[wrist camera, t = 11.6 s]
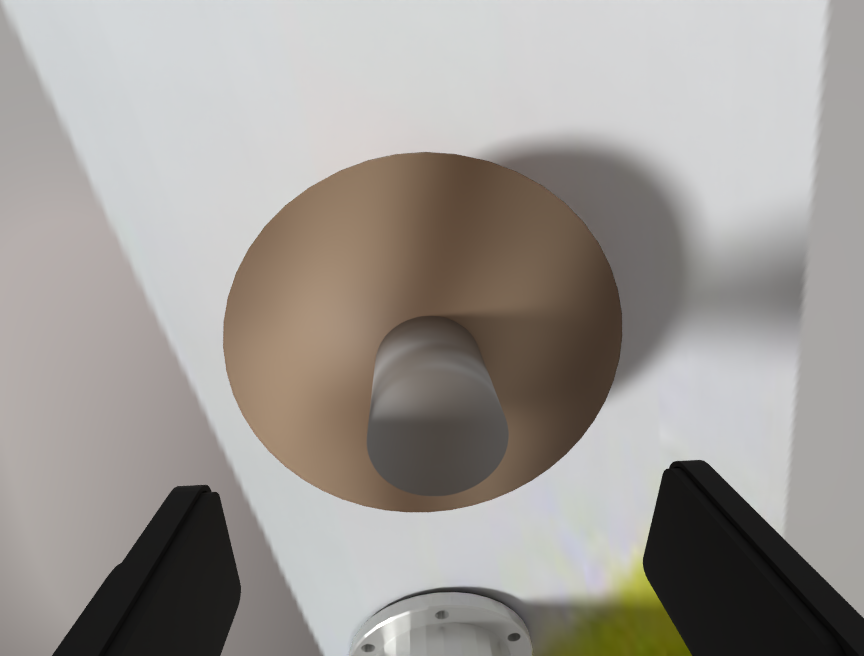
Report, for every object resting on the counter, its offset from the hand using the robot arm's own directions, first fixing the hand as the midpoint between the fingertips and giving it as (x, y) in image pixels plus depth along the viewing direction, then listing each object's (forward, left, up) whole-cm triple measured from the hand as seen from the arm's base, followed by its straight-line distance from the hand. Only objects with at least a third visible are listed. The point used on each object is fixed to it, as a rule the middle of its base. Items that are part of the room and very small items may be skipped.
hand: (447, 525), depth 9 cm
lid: (+1, 0, -7) cm, 7 cm away
